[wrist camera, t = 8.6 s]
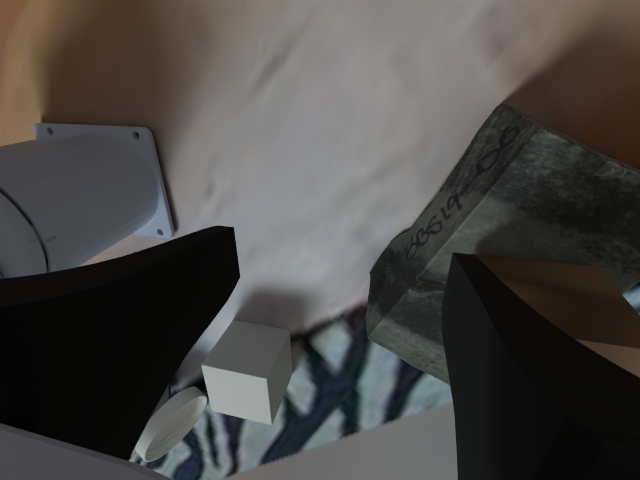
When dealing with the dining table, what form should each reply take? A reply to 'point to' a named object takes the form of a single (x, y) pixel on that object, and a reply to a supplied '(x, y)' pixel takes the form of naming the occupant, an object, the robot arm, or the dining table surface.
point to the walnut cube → (576, 304)
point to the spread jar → (170, 422)
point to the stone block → (505, 227)
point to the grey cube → (249, 371)
